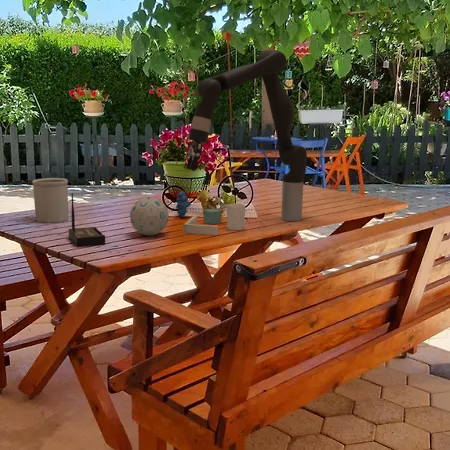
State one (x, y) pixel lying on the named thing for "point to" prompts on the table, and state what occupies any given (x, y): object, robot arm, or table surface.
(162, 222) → the puzzle ball
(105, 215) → the table surface
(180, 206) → the grapes
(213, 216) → the teal block
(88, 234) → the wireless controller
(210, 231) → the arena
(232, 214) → the white cup
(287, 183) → the robot arm
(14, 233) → the table surface
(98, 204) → the table surface
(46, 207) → the utensil holder
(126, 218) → the table surface
